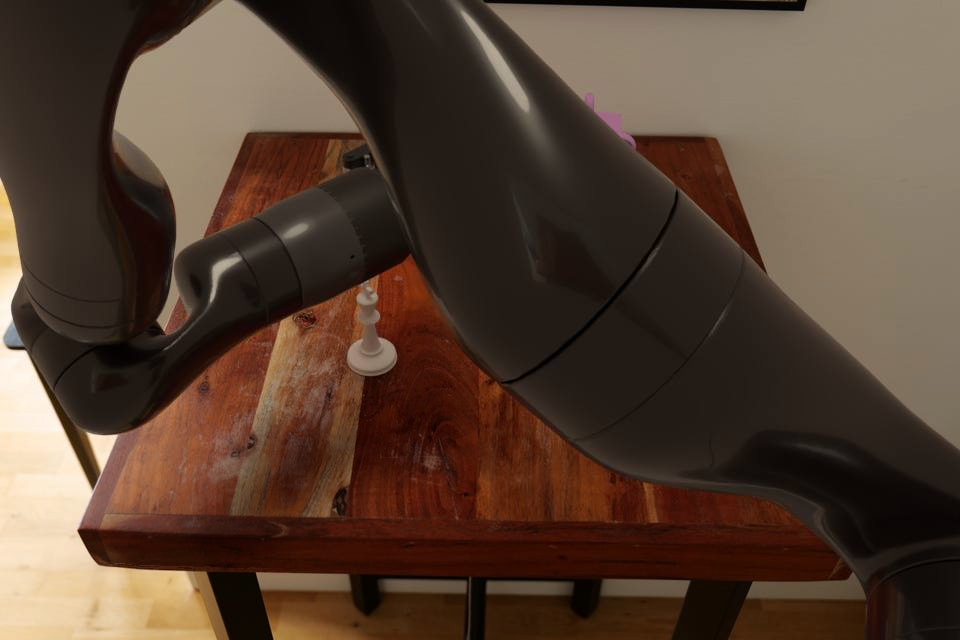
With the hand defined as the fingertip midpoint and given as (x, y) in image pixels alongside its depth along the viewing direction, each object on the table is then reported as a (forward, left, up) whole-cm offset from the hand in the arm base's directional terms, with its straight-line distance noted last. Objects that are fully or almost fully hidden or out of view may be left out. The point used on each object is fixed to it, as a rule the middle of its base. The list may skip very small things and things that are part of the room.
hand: (498, 159), depth 68 cm
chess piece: (+2, +11, -24) cm, 27 cm away
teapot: (+32, -13, -24) cm, 42 cm away
